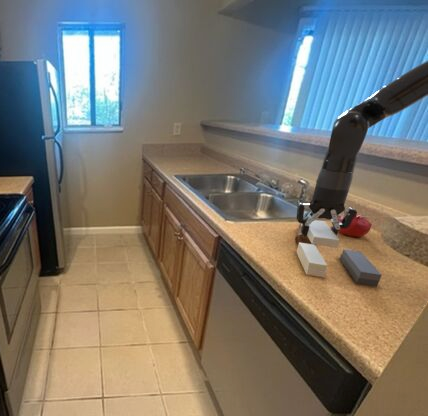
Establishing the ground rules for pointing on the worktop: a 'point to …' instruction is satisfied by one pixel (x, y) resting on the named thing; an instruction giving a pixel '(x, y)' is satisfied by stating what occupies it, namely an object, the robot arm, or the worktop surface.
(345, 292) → the worktop surface
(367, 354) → the worktop surface
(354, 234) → the pomegranate
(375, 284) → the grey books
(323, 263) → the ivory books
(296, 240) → the bread
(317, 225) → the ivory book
